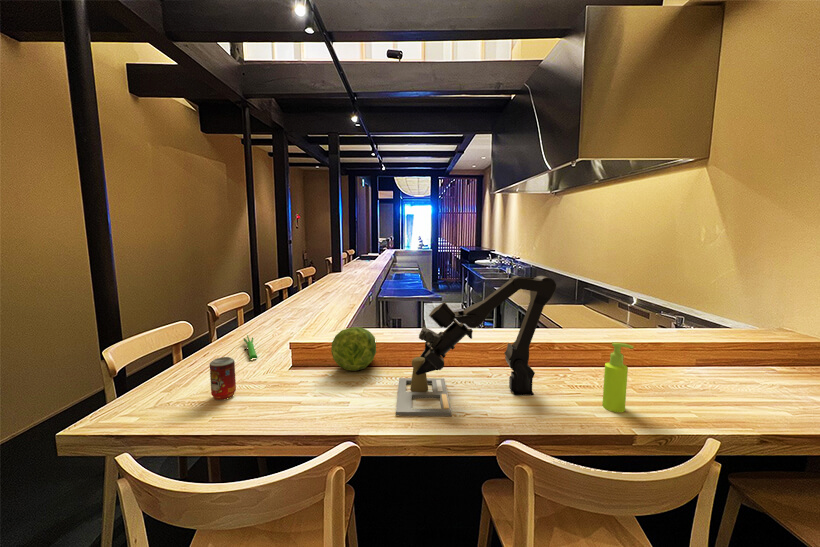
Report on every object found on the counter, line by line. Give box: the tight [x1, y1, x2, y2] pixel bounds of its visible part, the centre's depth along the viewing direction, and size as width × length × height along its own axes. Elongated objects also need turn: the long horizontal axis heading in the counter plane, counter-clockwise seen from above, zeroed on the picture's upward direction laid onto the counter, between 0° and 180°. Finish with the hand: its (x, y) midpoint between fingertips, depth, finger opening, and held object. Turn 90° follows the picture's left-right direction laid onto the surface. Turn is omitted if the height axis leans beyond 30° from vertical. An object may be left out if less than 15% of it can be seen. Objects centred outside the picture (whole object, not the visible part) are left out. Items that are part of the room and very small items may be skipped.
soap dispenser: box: [601, 342, 635, 413], centre depth 104 cm, size 6×7×20 cm
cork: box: [410, 356, 429, 392], centre depth 117 cm, size 6×6×11 cm
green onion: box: [243, 334, 258, 360], centre depth 158 cm, size 5×3×30 cm
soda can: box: [209, 356, 237, 401], centre depth 112 cm, size 7×7×12 cm
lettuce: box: [330, 326, 377, 372], centre depth 140 cm, size 17×23×16 cm
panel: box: [395, 377, 452, 417], centre depth 112 cm, size 16×24×2 cm, turn 179°
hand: (416, 368), depth 117 cm, fingers open, 9 cm apart
